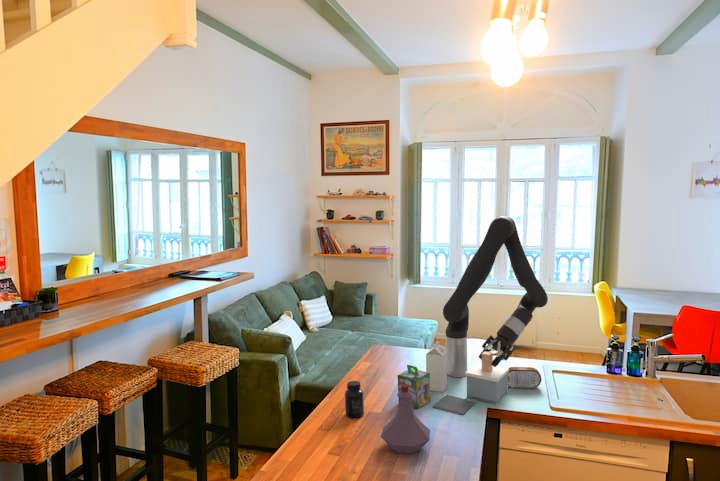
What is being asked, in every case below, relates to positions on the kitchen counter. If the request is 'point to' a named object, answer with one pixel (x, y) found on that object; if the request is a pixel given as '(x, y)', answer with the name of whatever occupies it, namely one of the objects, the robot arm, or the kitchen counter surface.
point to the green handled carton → (416, 385)
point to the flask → (405, 427)
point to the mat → (454, 404)
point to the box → (486, 389)
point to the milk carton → (437, 367)
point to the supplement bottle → (354, 400)
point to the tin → (523, 377)
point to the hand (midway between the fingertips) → (486, 362)
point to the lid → (487, 369)
